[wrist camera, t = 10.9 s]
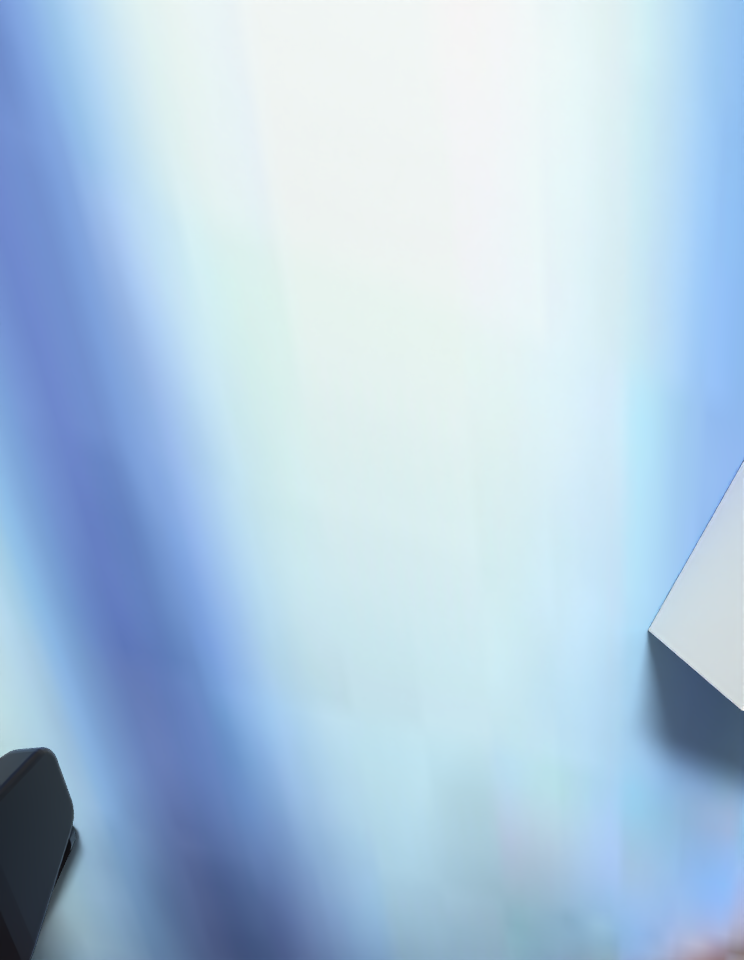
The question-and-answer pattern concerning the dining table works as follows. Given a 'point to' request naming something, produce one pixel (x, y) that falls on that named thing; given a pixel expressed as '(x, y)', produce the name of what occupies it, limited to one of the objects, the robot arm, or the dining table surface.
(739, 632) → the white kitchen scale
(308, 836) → the dining table surface
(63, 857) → the robot arm
